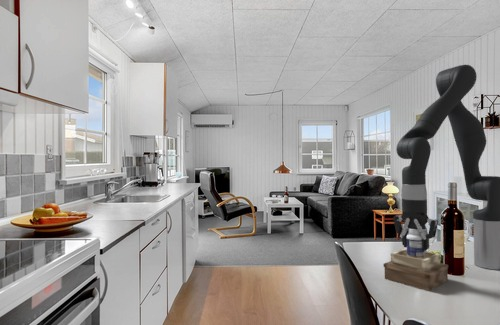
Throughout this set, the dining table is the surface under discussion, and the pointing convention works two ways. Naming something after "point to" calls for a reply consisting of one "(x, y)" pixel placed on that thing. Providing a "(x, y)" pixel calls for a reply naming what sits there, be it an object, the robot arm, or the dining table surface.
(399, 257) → the top crate
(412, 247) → the pill bottle
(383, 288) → the dining table surface
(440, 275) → the box
